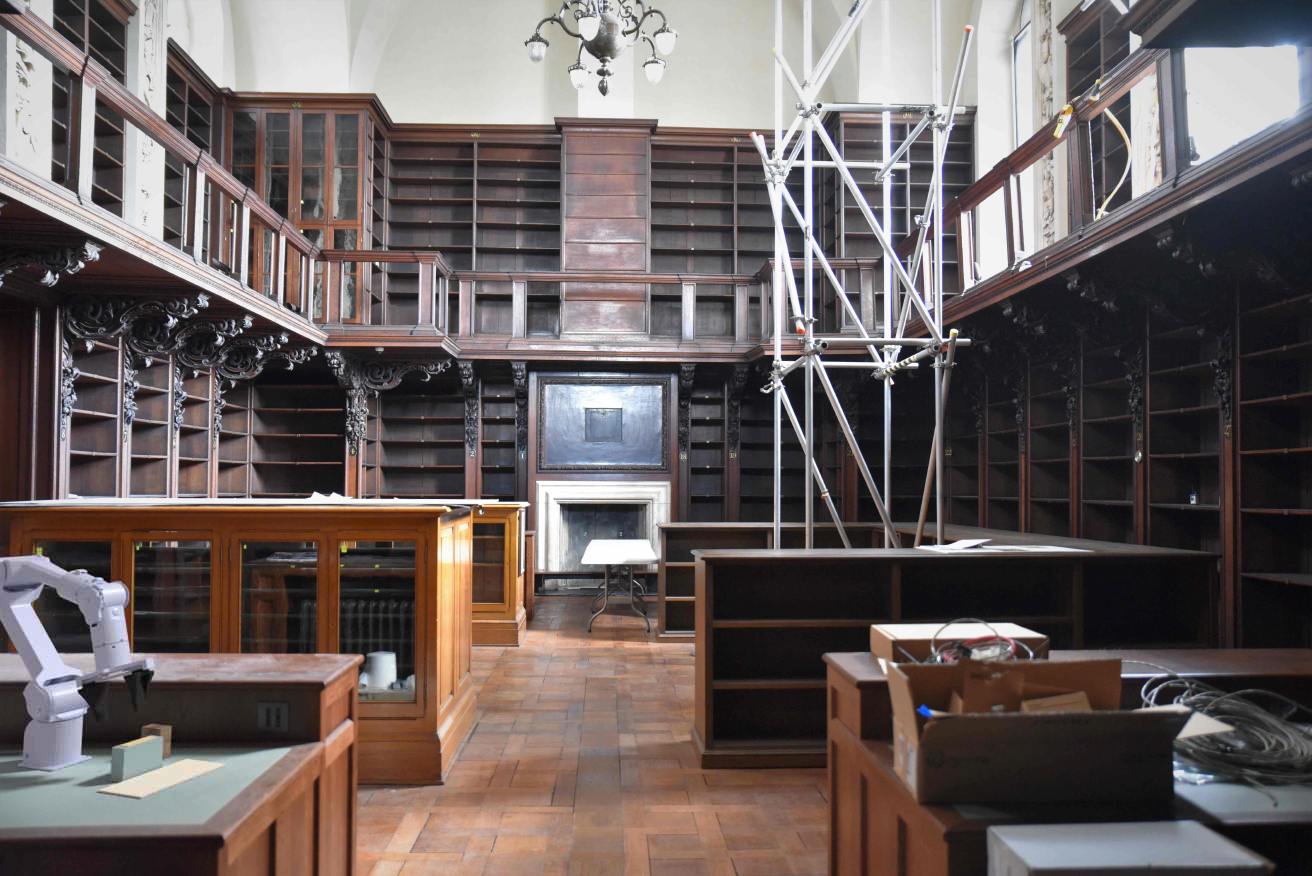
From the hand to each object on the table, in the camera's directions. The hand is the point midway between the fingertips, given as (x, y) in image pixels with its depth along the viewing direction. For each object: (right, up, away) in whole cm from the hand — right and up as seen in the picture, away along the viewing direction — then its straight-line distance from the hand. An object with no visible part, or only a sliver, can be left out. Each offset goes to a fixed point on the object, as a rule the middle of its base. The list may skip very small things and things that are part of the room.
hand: (121, 715), depth 153 cm
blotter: (+11, -10, -4) cm, 15 cm away
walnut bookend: (+2, -11, +8) cm, 13 cm away
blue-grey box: (+4, -10, -2) cm, 11 cm away
